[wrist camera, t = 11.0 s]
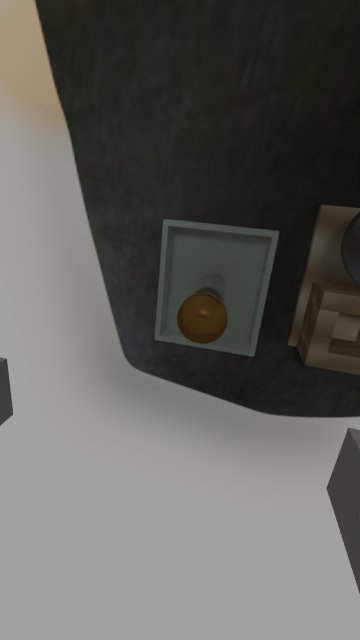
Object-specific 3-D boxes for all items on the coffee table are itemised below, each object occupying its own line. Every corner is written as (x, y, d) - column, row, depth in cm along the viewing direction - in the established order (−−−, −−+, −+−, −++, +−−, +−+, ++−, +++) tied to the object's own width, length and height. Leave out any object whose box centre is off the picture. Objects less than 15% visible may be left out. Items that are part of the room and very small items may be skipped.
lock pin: (198, 267, 35) (179, 292, 23) (232, 271, 34) (231, 299, 22) (194, 299, 36) (174, 339, 24) (227, 303, 36) (223, 347, 23)
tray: (171, 219, 35) (163, 219, 31) (275, 230, 33) (279, 231, 29) (162, 328, 39) (154, 339, 36) (252, 343, 38) (254, 356, 34)
